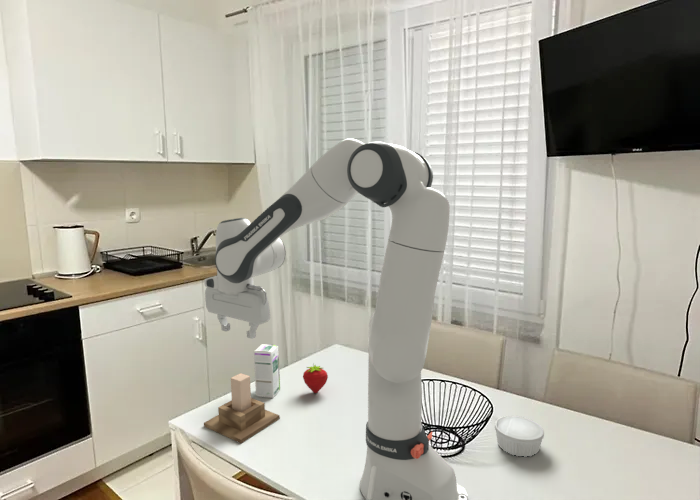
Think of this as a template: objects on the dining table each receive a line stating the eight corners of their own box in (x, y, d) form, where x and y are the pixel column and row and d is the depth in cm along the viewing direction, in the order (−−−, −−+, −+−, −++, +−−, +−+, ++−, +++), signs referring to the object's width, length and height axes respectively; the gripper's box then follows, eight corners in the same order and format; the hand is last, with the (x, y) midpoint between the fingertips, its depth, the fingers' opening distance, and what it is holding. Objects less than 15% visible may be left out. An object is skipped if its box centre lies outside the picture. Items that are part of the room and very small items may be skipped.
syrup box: (273, 398, 139) (272, 352, 137) (255, 396, 140) (253, 350, 138) (280, 389, 145) (279, 344, 142) (262, 387, 146) (260, 343, 143)
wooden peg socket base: (279, 418, 128) (279, 401, 127) (241, 443, 116) (240, 424, 116) (243, 404, 136) (242, 388, 135) (203, 426, 124) (202, 408, 123)
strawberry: (326, 398, 139) (326, 366, 137) (301, 397, 140) (300, 365, 138) (329, 389, 145) (329, 358, 143) (305, 387, 146) (304, 357, 144)
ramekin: (486, 434, 120) (487, 415, 119) (529, 432, 121) (530, 413, 120) (505, 462, 109) (506, 441, 108) (551, 459, 110) (552, 438, 109)
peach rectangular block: (251, 418, 126) (250, 376, 124) (241, 424, 123) (240, 381, 121) (242, 414, 128) (240, 373, 126) (232, 420, 125) (230, 377, 123)
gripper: (274, 284, 116) (276, 338, 119) (218, 274, 127) (221, 323, 130) (256, 290, 111) (258, 346, 113) (199, 279, 122) (202, 330, 125)
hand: (238, 333), depth 122 cm, fingers open, 8 cm apart
